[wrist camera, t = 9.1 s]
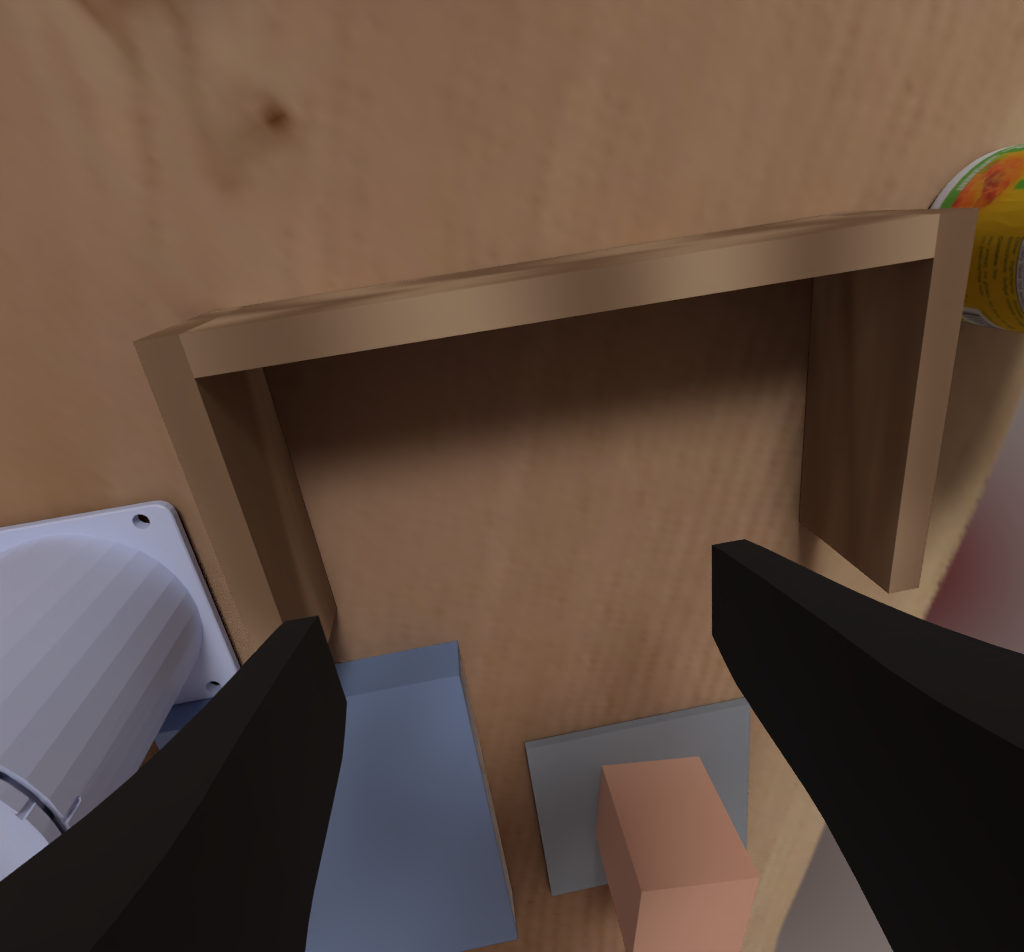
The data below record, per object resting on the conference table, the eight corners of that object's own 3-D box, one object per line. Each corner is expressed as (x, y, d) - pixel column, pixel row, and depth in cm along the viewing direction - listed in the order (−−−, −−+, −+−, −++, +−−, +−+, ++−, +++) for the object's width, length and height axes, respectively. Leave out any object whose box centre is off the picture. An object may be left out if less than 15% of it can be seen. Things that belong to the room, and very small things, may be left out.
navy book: (511, 885, 30) (517, 938, 28) (294, 931, 30) (282, 990, 28) (456, 632, 24) (459, 674, 22) (179, 684, 23) (151, 735, 21)
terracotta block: (595, 835, 28) (630, 967, 23) (601, 765, 27) (641, 891, 22) (686, 825, 29) (740, 952, 24) (698, 756, 27) (760, 877, 22)
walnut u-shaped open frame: (310, 612, 22) (278, 713, 18) (209, 311, 18) (133, 341, 13) (823, 516, 23) (918, 587, 19) (847, 211, 19) (979, 207, 14)
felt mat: (550, 887, 30) (552, 896, 30) (524, 742, 26) (526, 749, 26) (742, 846, 31) (746, 853, 30) (745, 697, 27) (750, 703, 26)
